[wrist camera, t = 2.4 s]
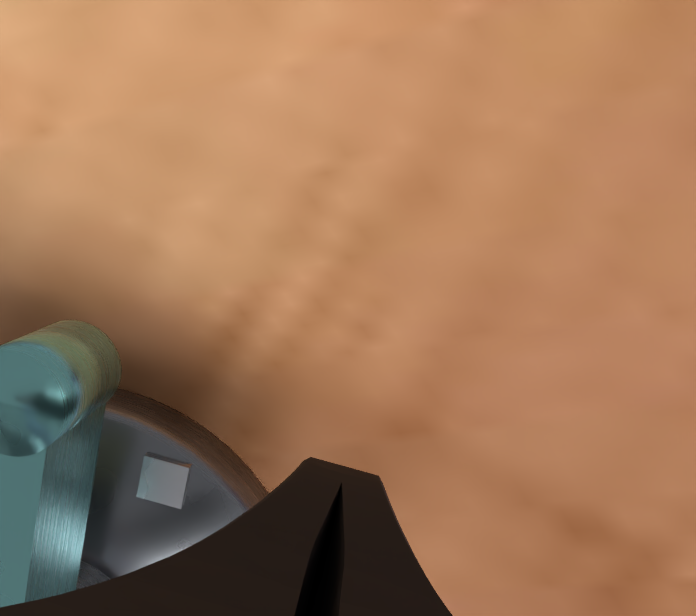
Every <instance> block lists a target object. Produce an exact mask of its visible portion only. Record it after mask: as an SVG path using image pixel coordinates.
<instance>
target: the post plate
mask: <svg viewBox="0 0 696 616" xmlns="http://www.w3.org/2000/svg"><path fill="white" fill-rule="evenodd" d="M268 494H269V493H268V492H267V491H266V489H265V488H264V487H263V485H262V484H261V483H260V481H259V480H258V479H257V477H256V476H255V475H254V473H253V472H252V471H251V469H250V468H249V467H248V466H247V465H246V464H245V463H244V462H243V461H242V460H241V459H240V458H239V457H238V456H237V455H236V454H235V453H234V452H233V451H232V450H231V449H230V448H229V447H228V446H227V445H225V444H224V443H223V442H222V441H221V440H219V439H218V438H217V437H216V436H214V435H213V434H212V433H211V432H209V431H208V430H207V429H206V428H204V427H202V426H201V425H199V424H198V423H196V422H194V421H193V420H191V419H190V418H188V417H187V416H185V415H183V414H182V413H180V412H178V411H176V410H174V409H172V408H170V407H168V406H165V405H163V404H161V403H159V402H157V401H155V400H153V399H150V398H147V397H144V396H141V395H138V394H135V393H132V392H129V391H126V390H122V389H117V391H116V392H115V394H114V395H113V397H112V398H111V399H110V400H109V401H108V402H107V403H106V409H105V415H104V421H103V427H102V434H101V440H100V446H99V452H98V458H97V464H96V470H95V476H94V482H93V488H92V494H91V501H90V507H89V513H88V519H87V525H86V531H85V537H84V543H83V549H82V555H81V560H82V561H84V562H86V563H89V564H90V565H92V566H94V567H95V568H97V569H98V570H100V571H101V572H103V573H104V574H105V575H107V576H108V577H109V578H110V579H113V578H116V577H119V576H122V575H125V574H128V573H130V572H133V571H135V570H138V569H140V568H142V567H145V566H147V565H150V564H152V563H155V562H157V561H160V560H162V559H164V558H167V557H169V556H172V555H174V554H176V553H178V552H180V551H182V550H184V549H186V548H188V547H189V546H191V545H193V544H195V543H197V542H199V541H201V540H202V539H204V538H206V537H208V536H209V535H211V534H213V533H214V532H216V531H218V530H219V529H221V528H223V527H224V526H226V525H227V524H228V523H230V522H231V521H233V520H234V519H236V518H237V517H239V516H240V515H242V514H243V513H245V512H246V511H247V510H249V509H250V508H252V507H253V506H254V505H256V504H257V503H258V502H260V501H261V500H262V499H263V498H264V497H266V496H267V495H268Z"/></svg>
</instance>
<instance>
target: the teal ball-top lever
mask: <svg viewBox="0 0 696 616" xmlns="http://www.w3.org/2000/svg"><path fill="white" fill-rule="evenodd" d="M121 374H122V368H121V361H120V357H119V354H118V352H117V349H116V348H115V346H114V344H113V343H112V341H111V340H110V339H109V338H108V337H107V335H106V334H105V333H103V332H102V331H101V330H100V329H98V328H97V327H95V326H93V325H91V324H89V323H86V322H83V321H79V320H63V321H58V322H55V323H53V324H50V325H48V326H46V327H43V328H41V329H39V330H36V331H34V332H31V333H29V334H27V335H24V336H22V337H19V338H17V339H15V340H12V341H10V342H8V343H5V344H3V345H0V607H5V606H10V605H15V604H19V603H24V602H29V601H34V600H39V599H43V598H47V597H51V596H55V595H59V594H63V593H67V592H70V591H74V590H77V589H81V588H84V587H88V586H91V585H95V584H98V583H101V582H104V581H107V580H110V578H109V577H108V576H107V575H105V574H104V573H103V572H101V571H100V570H98V569H97V568H95V567H94V566H92V565H90V564H89V563H86V562H84V561H82V560H81V555H82V549H83V543H84V537H85V531H86V525H87V519H88V513H89V507H90V501H91V494H92V488H93V482H94V476H95V470H96V464H97V458H98V452H99V446H100V440H101V434H102V427H103V421H104V415H105V409H106V403H107V402H108V401H109V400H110V399H111V398H112V397H113V395H114V394H115V392H116V391H117V389H118V387H119V384H120V380H121Z"/></svg>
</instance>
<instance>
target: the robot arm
mask: <svg viewBox="0 0 696 616" xmlns="http://www.w3.org/2000/svg"><path fill="white" fill-rule="evenodd" d="M0 616H452V614H451V613H450V611H449V610H448V609H447V607H446V606H445V605H444V603H443V602H442V600H441V599H440V597H439V596H438V594H437V593H436V591H435V590H434V588H433V587H432V585H431V584H430V582H429V580H428V578H427V577H426V575H425V573H424V572H423V570H422V568H421V566H420V565H419V563H418V561H417V559H416V557H415V555H414V553H413V551H412V549H411V547H410V545H409V543H408V541H407V539H406V537H405V535H404V533H403V531H402V529H401V527H400V525H399V523H398V520H397V518H396V516H395V513H394V511H393V509H392V506H391V504H390V501H389V499H388V496H387V494H386V491H385V488H384V485H383V483H382V481H381V479H380V477H379V476H378V475H374V474H370V473H367V472H363V471H359V470H356V469H352V468H349V467H345V466H341V465H338V464H334V463H330V462H327V461H323V460H319V459H316V458H312V457H310V458H308V459H306V460H304V461H303V462H302V463H301V464H300V465H299V467H298V468H297V469H296V470H295V471H294V472H293V473H292V474H291V475H290V476H289V477H288V478H287V479H286V480H285V481H283V482H282V483H281V484H280V485H279V486H278V487H277V488H275V489H274V490H273V491H272V492H271V493H269V494H268V495H267V496H266V497H264V498H263V499H262V500H261V501H260V502H258V503H257V504H256V505H254V506H253V507H252V508H250V509H249V510H247V511H246V512H245V513H243V514H242V515H240V516H239V517H237V518H236V519H234V520H233V521H231V522H230V523H228V524H227V525H226V526H224V527H223V528H221V529H219V530H218V531H216V532H214V533H213V534H211V535H209V536H208V537H206V538H204V539H202V540H201V541H199V542H197V543H195V544H193V545H191V546H189V547H188V548H186V549H184V550H182V551H180V552H178V553H176V554H174V555H172V556H169V557H167V558H164V559H162V560H160V561H157V562H155V563H152V564H150V565H147V566H145V567H142V568H140V569H138V570H135V571H133V572H130V573H128V574H125V575H122V576H119V577H116V578H113V579H110V580H107V581H104V582H101V583H98V584H95V585H91V586H88V587H84V588H81V589H77V590H74V591H70V592H67V593H63V594H59V595H55V596H51V597H47V598H43V599H39V600H34V601H29V602H24V603H19V604H15V605H10V606H5V607H0Z"/></svg>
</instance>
